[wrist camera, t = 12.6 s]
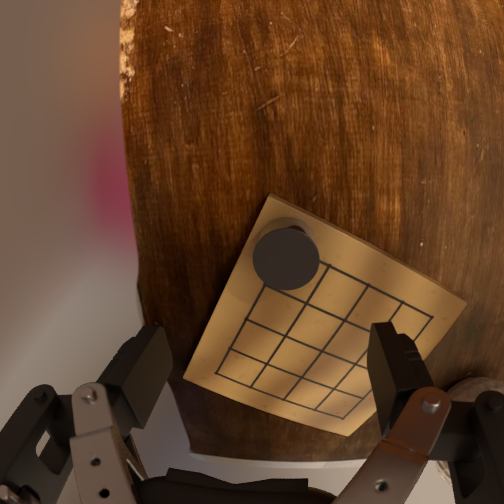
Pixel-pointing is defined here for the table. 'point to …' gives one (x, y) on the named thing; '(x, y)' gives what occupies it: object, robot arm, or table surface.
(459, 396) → the vase
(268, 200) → the board
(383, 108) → the table surface
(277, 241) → the dark grey puck
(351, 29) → the table surface
